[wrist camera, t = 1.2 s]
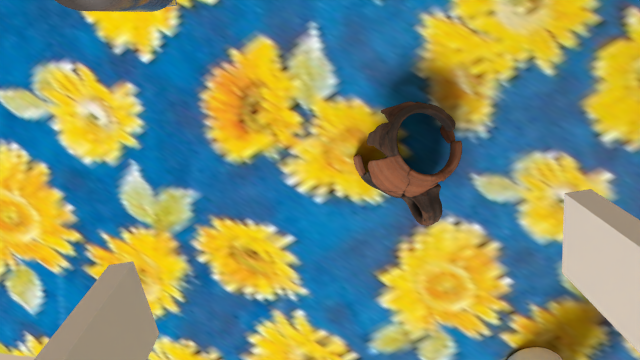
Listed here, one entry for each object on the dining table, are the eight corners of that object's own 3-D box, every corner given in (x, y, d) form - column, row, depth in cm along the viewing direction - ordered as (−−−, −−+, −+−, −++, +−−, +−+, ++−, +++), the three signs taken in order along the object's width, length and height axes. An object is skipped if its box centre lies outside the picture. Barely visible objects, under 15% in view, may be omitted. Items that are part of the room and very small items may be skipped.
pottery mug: (331, 136, 46) (361, 118, 38) (405, 100, 48) (447, 76, 40) (383, 240, 46) (423, 244, 38) (453, 199, 49) (503, 195, 41)
